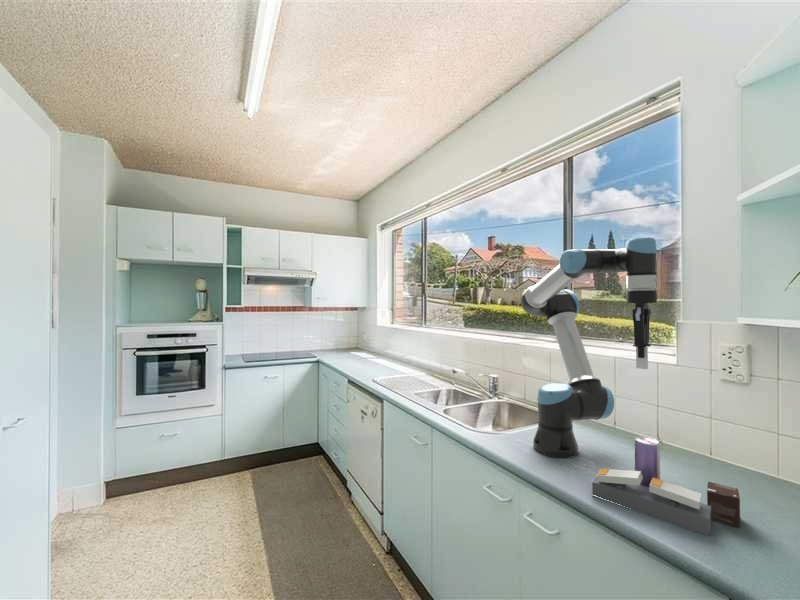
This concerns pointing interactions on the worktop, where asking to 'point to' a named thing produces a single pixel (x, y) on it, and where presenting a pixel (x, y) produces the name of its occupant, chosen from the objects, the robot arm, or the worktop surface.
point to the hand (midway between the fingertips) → (642, 368)
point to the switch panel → (655, 505)
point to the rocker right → (675, 493)
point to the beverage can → (647, 459)
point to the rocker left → (620, 476)
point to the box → (724, 504)
